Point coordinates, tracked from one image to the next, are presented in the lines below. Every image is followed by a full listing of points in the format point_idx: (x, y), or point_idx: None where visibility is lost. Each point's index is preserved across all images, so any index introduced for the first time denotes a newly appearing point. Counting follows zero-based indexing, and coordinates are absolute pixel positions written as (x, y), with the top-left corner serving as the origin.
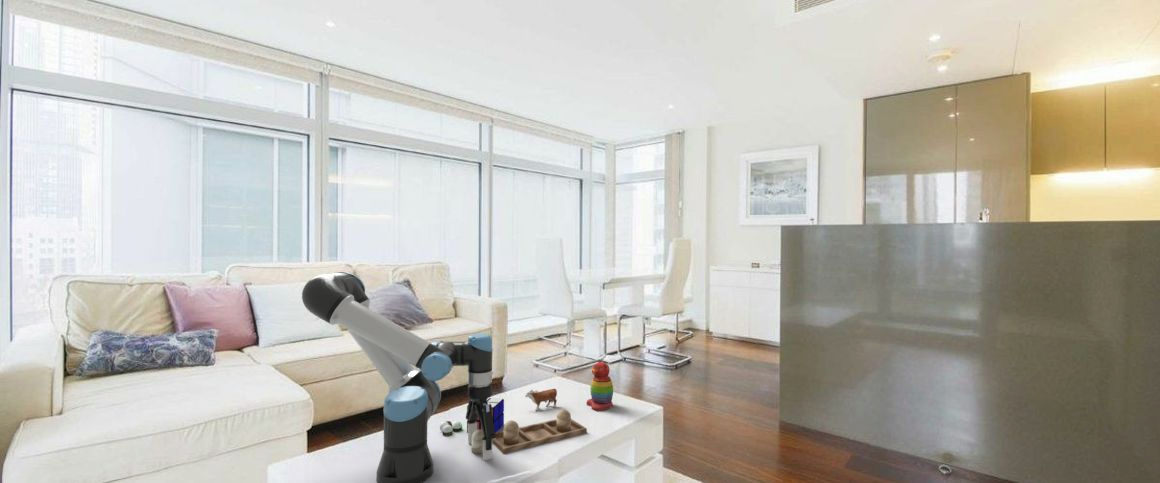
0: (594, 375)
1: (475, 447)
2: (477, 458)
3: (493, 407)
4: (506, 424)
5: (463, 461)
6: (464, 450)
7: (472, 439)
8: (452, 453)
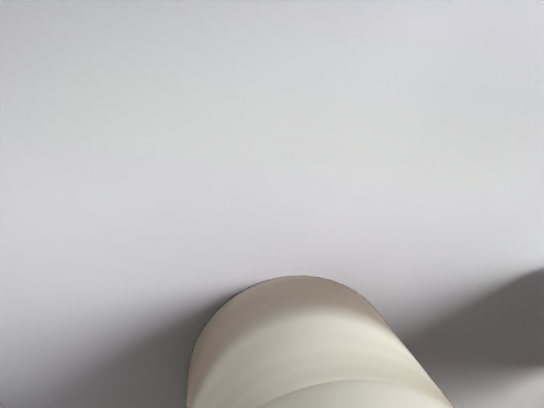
0: None
1: (211, 373)
2: (112, 332)
3: None
4: None
5: (76, 140)
6: (425, 195)
7: (294, 397)
8: (398, 20)
